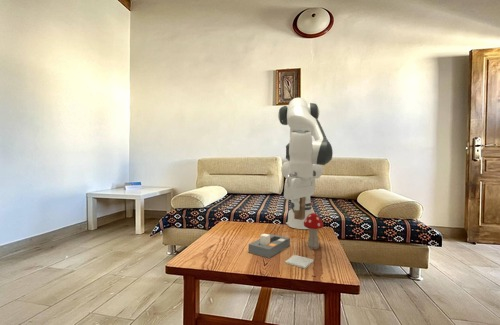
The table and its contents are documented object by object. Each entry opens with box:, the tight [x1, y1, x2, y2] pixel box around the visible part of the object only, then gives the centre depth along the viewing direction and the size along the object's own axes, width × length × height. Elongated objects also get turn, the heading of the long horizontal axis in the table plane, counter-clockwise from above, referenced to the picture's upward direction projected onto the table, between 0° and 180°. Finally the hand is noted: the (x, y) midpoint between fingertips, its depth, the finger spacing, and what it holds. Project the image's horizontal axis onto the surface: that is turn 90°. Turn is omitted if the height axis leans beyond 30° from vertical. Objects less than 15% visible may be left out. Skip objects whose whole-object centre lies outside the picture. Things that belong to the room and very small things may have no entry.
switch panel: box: [248, 233, 291, 259], centre depth 103 cm, size 18×10×4 cm, turn 144°
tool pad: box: [285, 254, 314, 269], centre depth 90 cm, size 8×8×1 cm
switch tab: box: [260, 233, 270, 246], centre depth 100 cm, size 3×3×5 cm
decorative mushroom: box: [304, 212, 324, 250], centre depth 107 cm, size 10×9×15 cm
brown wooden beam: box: [294, 197, 305, 220], centre depth 90 cm, size 3×3×10 cm
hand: (300, 209), depth 90 cm, fingers closed on brown wooden beam, 3 cm apart
